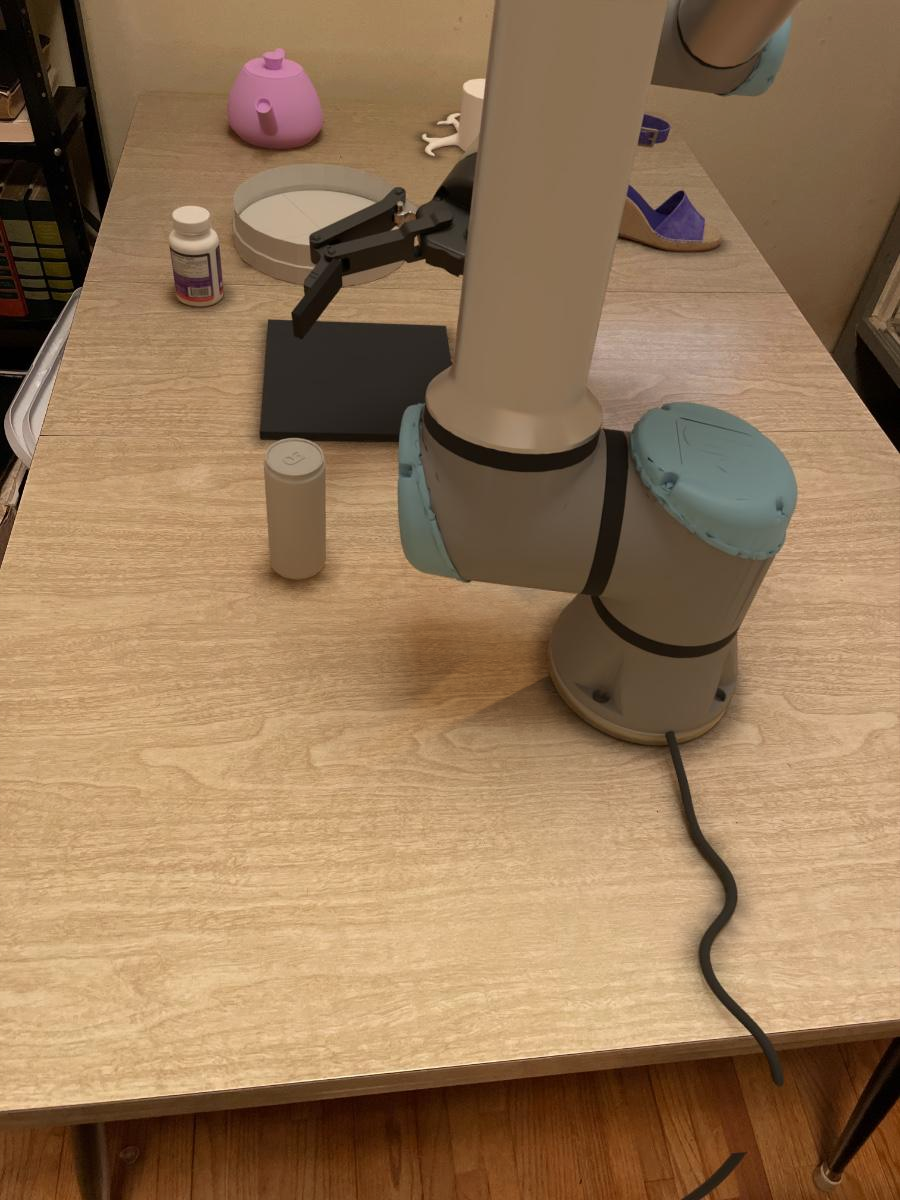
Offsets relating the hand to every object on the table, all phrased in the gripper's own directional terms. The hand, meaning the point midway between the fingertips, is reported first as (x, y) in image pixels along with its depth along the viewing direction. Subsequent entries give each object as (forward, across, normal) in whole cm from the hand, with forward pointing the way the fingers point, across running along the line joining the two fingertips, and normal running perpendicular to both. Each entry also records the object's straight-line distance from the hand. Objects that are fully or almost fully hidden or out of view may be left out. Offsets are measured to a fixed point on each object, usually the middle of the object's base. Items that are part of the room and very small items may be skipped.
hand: (372, 361), depth 75 cm
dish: (-36, +27, -32) cm, 55 cm away
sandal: (-63, -8, -36) cm, 73 cm away
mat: (-13, +9, -23) cm, 28 cm away
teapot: (-58, +49, -41) cm, 86 cm away
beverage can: (+12, +1, -15) cm, 19 cm away
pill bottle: (-18, +32, -27) cm, 46 cm away
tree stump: (-74, +22, -42) cm, 88 cm away
